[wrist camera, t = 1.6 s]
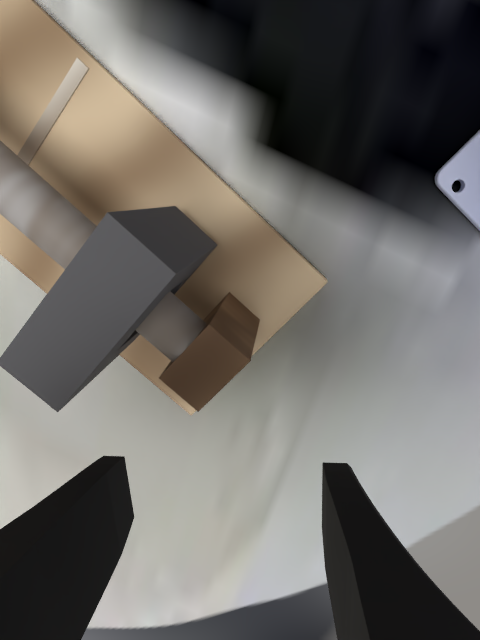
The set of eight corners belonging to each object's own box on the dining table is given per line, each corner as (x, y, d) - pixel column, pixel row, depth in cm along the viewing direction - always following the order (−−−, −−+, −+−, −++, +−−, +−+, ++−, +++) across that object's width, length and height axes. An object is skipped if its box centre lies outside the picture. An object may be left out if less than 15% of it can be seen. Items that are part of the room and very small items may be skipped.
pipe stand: (326, 278, 19) (341, 313, 13) (194, 407, 22) (161, 480, 16) (-14, -45, 17) (-169, -168, 11) (-110, 149, 20) (-270, 131, 14)
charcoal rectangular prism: (217, 244, 17) (176, 273, 11) (134, 339, 19) (57, 412, 13) (175, 205, 17) (107, 212, 10) (95, 306, 19) (-4, 363, 12)
